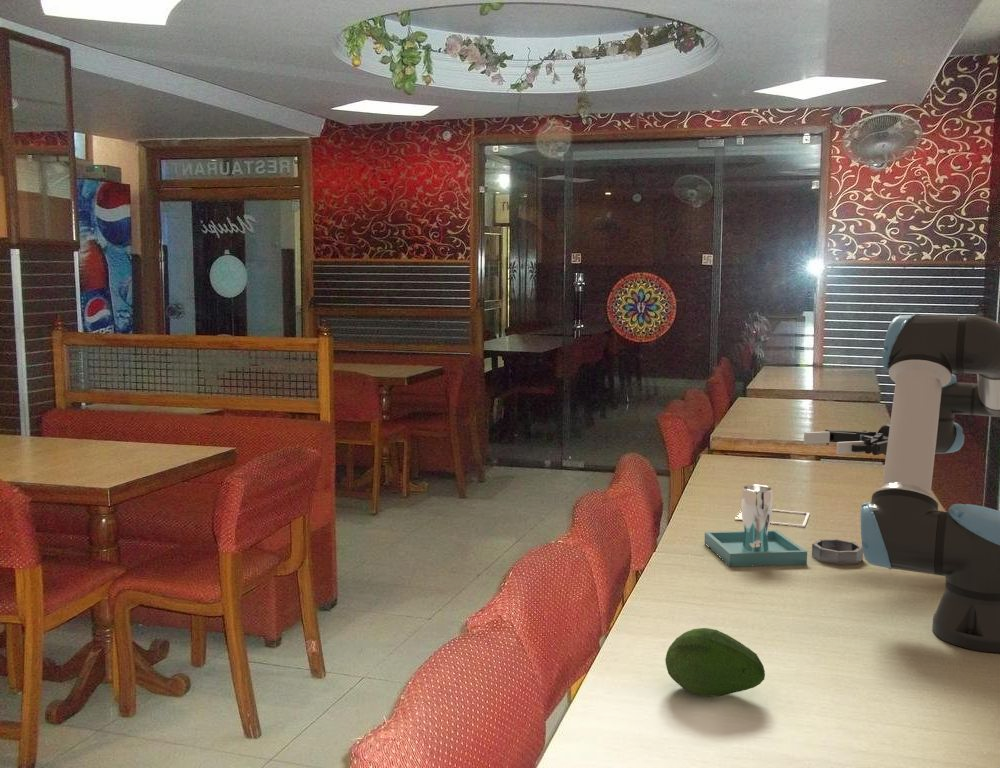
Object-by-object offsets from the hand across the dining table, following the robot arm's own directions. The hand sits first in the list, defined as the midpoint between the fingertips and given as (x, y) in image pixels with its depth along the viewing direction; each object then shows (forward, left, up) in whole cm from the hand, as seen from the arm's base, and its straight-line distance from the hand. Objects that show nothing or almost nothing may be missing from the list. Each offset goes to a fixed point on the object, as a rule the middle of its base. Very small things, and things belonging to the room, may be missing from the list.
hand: (820, 443), depth 217 cm
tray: (0, +15, -26) cm, 30 cm away
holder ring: (-5, -3, -26) cm, 27 cm away
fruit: (-71, +48, -26) cm, 90 cm away
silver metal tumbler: (-1, +15, -25) cm, 29 cm away
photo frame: (+32, -2, -27) cm, 42 cm away
